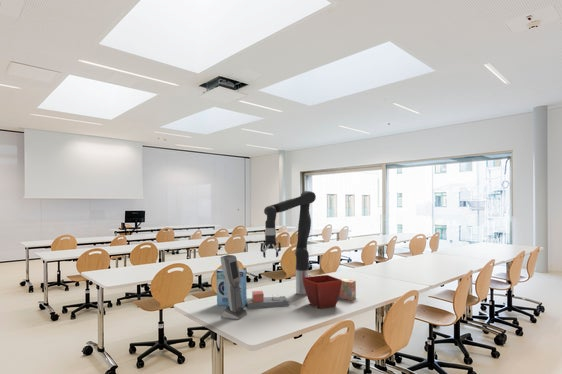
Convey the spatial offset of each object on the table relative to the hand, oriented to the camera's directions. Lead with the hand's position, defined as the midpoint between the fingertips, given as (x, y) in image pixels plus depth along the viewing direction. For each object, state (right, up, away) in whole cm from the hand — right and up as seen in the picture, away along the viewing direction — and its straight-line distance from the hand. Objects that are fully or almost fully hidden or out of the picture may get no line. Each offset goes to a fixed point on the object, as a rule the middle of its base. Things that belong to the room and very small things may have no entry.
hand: (270, 257), depth 240 cm
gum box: (-25, -28, -18) cm, 42 cm away
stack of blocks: (+49, -28, -1) cm, 56 cm away
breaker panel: (-2, -27, -17) cm, 32 cm away
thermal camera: (-21, -27, -38) cm, 51 cm away
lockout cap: (-8, -24, -18) cm, 31 cm away
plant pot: (+34, -27, -20) cm, 48 cm away
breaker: (+4, -25, -16) cm, 30 cm away
